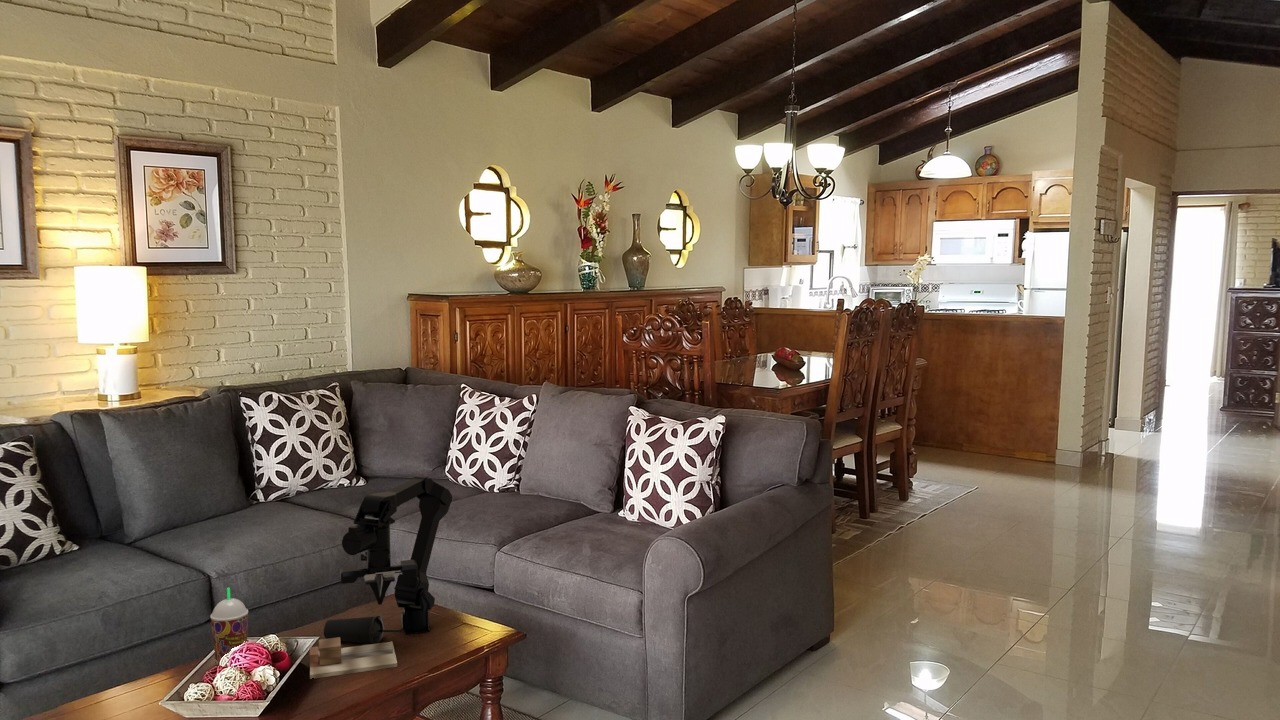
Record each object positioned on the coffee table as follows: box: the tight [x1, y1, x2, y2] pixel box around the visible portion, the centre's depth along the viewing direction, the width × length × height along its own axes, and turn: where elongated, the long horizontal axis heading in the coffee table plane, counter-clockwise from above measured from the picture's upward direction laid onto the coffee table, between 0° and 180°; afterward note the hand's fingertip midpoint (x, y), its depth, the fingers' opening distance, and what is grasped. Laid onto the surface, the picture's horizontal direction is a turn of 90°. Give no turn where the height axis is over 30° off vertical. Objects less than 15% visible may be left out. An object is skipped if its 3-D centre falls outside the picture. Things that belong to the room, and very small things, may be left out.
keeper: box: [318, 637, 342, 665], centre depth 218 cm, size 5×6×4 cm
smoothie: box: [209, 587, 249, 662], centre depth 216 cm, size 8×8×20 cm
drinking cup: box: [323, 615, 402, 645], centre depth 233 cm, size 8×8×20 cm
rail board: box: [309, 641, 398, 680], centre depth 220 cm, size 20×14×4 cm
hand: (379, 604), depth 226 cm, fingers closed
